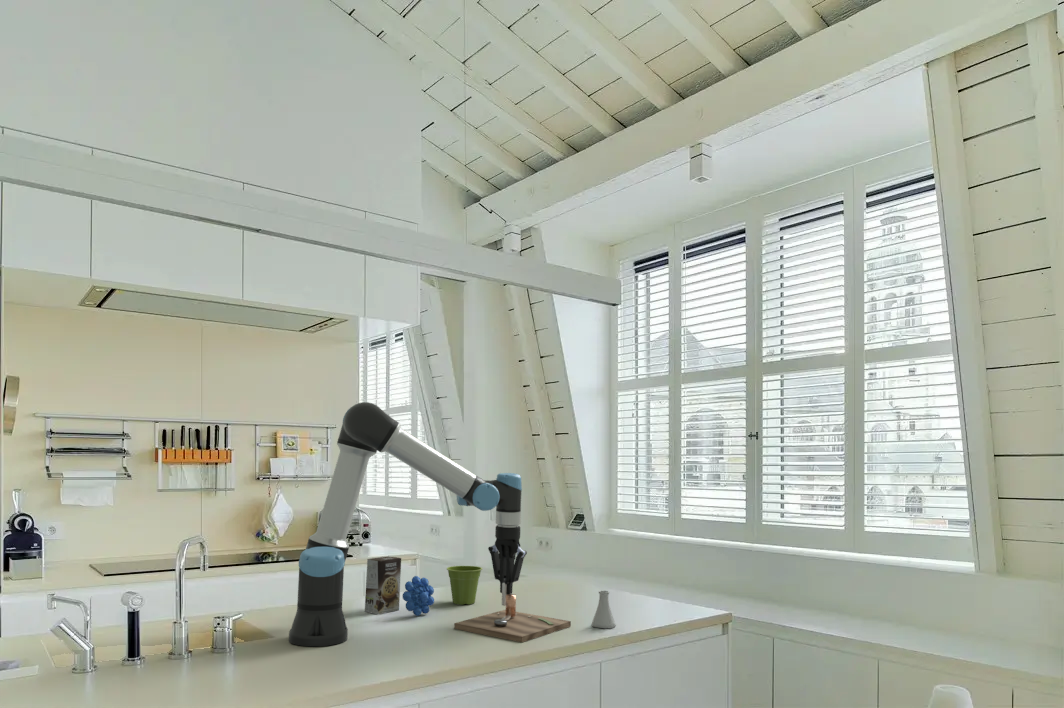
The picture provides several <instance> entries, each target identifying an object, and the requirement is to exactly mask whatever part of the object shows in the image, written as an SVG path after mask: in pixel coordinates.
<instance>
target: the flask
mask: <svg viewBox="0 0 1064 708" xmlns="http://www.w3.org/2000/svg"><path fill="white" fill-rule="evenodd" d="M598 594H599V599H598V605H597V608H596V611H595V613H594V616H593V619H592V621H591V626H592V627H594V628H599V629H613V628H615V627H616V622H615V618H614V616H613V613H612V609H611V606H610V599H609V595H610V591H609V590H598Z"/></svg>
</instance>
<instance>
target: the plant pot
mask: <svg viewBox="0 0 1064 708" xmlns="http://www.w3.org/2000/svg"><path fill="white" fill-rule="evenodd" d="M446 570H447V572H448V577H449V582H450V589H451V590H450V591H451V597H452V598H451V599H452V603H453V604H454V605H462V606H463V605H465V604H466V605H472V604H474V603H476V597H477V591H478V585H479V579H480V577H481V572H482V570H483V567H481V566H476V565H453V566H448V567H446Z"/></svg>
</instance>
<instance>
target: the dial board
mask: <svg viewBox="0 0 1064 708" xmlns="http://www.w3.org/2000/svg"><path fill="white" fill-rule="evenodd" d="M505 613H506V609H503V610H500V611H499V610H498V611H495V612H492V613H488V614H484V615H480V616H475V617H473V618H472V617H471V618H469V619H465V620H461V621H456V622H454V625H453V626H454V627H453V628H454V629H453V630H460V631H464V632H469V633H474V634H479V635H485V636H489V637H494V638H498V639H503V640H509V641H513V642H518V643H524V642H528V641H531V640H533V639H537V638H540V637H542V636H545V635H550V634H553V633H555V632H558V631H561V630H564V629H567V628H570V627H571V622H572V621H570V620H567V619H566V620H565V619H561V618H554V617H548V616H543V615H539V614H538V615H537V614H536V615H535V614H534V613H533V614H532V613H527V612H521V611H516V616H515V617H511V618H510V619H509V620H507V625H505V626H496V625H494V620H498V619H502V618H504V617H505Z"/></svg>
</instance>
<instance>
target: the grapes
mask: <svg viewBox="0 0 1064 708" xmlns="http://www.w3.org/2000/svg"><path fill="white" fill-rule="evenodd" d="M429 584H430V583H429V579H427V578H426V577H422V578H420V577H419V576H418V575H414V576H413V577H412V578H411V580H410V581H409V580H408V581H406V582H405V584H404V588H405V591H403V593H402V599H403V601H405V602H406V603H405V608H406V611H408V612H412V613H413V615H414V616H416V617H420V616H421V614H425V615H426V614H428V613H429V612H430V607H431V606H434V603H435V598H434V597H433V596H432V595H434V592H435V590H434V587H433V586H432V585H431V584H430V585H429Z"/></svg>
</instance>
